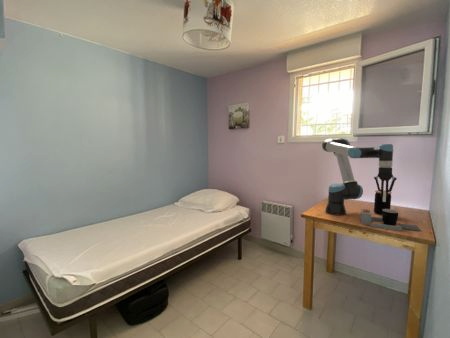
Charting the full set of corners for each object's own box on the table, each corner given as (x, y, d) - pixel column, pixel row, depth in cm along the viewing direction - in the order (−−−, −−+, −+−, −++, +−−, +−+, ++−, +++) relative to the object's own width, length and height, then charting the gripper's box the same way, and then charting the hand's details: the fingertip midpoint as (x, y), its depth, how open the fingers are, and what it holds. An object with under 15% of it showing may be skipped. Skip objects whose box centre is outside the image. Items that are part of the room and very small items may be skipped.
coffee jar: (392, 216, 175) (394, 193, 173) (377, 215, 177) (378, 192, 175) (385, 211, 185) (387, 190, 183) (371, 211, 187) (372, 189, 185)
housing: (361, 225, 156) (362, 214, 155) (360, 218, 170) (360, 208, 169) (401, 230, 146) (402, 218, 145) (396, 223, 160) (397, 212, 159)
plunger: (362, 217, 160) (363, 210, 160) (362, 215, 164) (362, 208, 163) (369, 217, 158) (369, 211, 158) (368, 216, 162) (369, 209, 161)
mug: (386, 221, 162) (387, 208, 161) (400, 226, 154) (401, 211, 153) (375, 224, 157) (376, 210, 156) (389, 229, 149) (390, 214, 148)
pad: (401, 229, 149) (401, 228, 149) (398, 224, 158) (398, 223, 158) (421, 231, 144) (421, 230, 144) (416, 226, 153) (416, 225, 153)
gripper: (374, 167, 152) (373, 201, 154) (398, 167, 146) (396, 203, 147) (373, 166, 159) (372, 199, 160) (396, 166, 152) (395, 201, 154)
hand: (384, 201), depth 154 cm, fingers closed
